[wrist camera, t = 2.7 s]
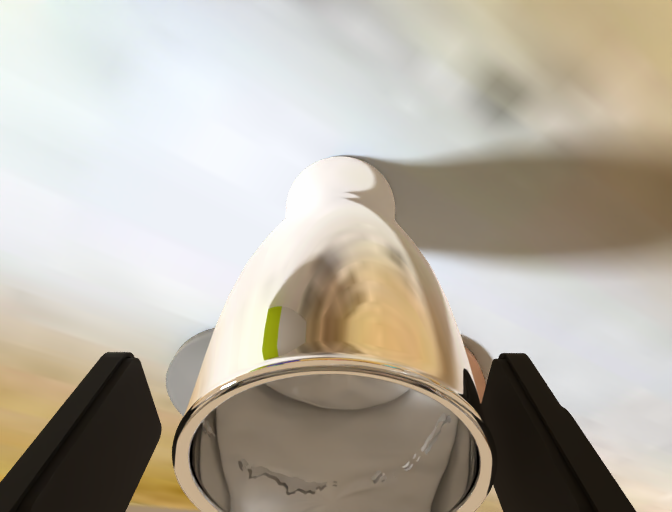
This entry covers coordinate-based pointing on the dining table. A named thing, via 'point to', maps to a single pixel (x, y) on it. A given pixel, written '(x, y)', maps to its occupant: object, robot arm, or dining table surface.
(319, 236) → the beer glass
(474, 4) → the dining table surface
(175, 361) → the slate coaster
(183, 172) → the dining table surface
